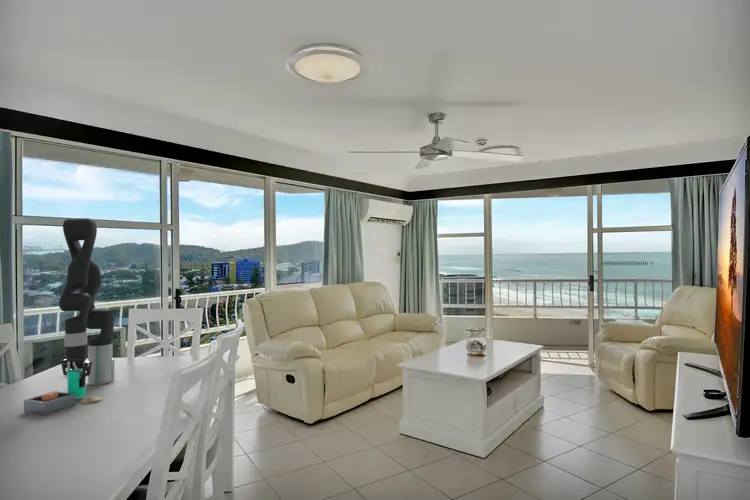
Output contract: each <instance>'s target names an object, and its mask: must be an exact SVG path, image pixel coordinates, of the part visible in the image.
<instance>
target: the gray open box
mask: <svg viewBox="0 0 750 500" xmlns="http://www.w3.org/2000/svg"><path fill="white" fill-rule="evenodd" d="M52 392H58V398H57V399H54V400H51V401H48V402H42V395H43V394H40V395H36V396H34V397H31V398H26V399H24V400H23V413H24V414H30V415H38V416H43V417H44V416H49V415H51V414H55V413H57V412H60V411H63V410H66V409H69V408H72V407H75V406H76V398H75V394H73V393H68V392H64V391H57V390H53V391H52Z"/></svg>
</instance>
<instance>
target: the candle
mask: <svg viewBox="0 0 750 500" xmlns="http://www.w3.org/2000/svg"><path fill="white" fill-rule="evenodd" d="M79 370H82V369H79ZM66 371H67V370H66ZM81 375H82V372H81ZM66 377H67V393H73V394H75V399H80V398H83V397H85V396H86V385H85V386H84V387H81V388H80V387H79V373H77V371H75V370H73V371H67V376H66Z"/></svg>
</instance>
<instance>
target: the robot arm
mask: <svg viewBox="0 0 750 500" xmlns="http://www.w3.org/2000/svg"><path fill="white" fill-rule="evenodd" d="M62 231H63V236H64V238H65V242H66V244H67V248H68V250H69V254H70V256H71V261H70V263H69V264H68V268H67V273H66V274H67V275H66V283H65V286H64V289H63V291H62V293H61V295H60V298H59V301H58V307H59V310H61V311H62V312H66V313H67V312H79V314H78V315H75V316H72V317H68V318H66V319H65V321H64V340H63V342H64V343H63V344H64V345H63V346H64V348H63V349H64V351H63V352H64V357H65V359H62V360H61V361H60V365H61V369H62V374H63V375H64V376H65V375H66V376H65V377H67V371H73V370H75V371H77V373H79V387H80V388H81V387H84V386H85V387H86V377H88V378H87V381H88V382H87V385H89V386H99V385H105V384H109V383H112V382H113V381H115V359H114V358H113V339H114V332H115V331H114V329H115V326H114V325H115V312H114V311H113V309H111V308H109V307H108V308H96V306H95V297H96V295H97V293H98V291H99V289H100V287H101V285H102V283H103V280H102V275H101V268H100V266H99V265H98V263H97V262H96V261H95V260H94V259H93V258H92V254H93V251H94V247H95V243H96V238H97V233H98V232H97V231H98V228H97V223H96V221H95V220H94V219H93V218H90V217H86V218H85V217H84V218H82V217H80V218H67V219H65V220H64V221H63V224H62ZM80 241H83V244H82V245H81V243H80ZM75 291H78V292H77V293H76V292H75ZM74 292H75V293H74ZM87 329H88V330H100V332H99V334H97V335H95V336H93V337H90V338H89V339H88V335H87V334H88V333H87ZM85 355H88V356H87V358H88V359H86V356H85ZM79 369H82V370H79ZM81 372H82V375H81Z"/></svg>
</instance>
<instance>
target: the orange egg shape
mask: <svg viewBox="0 0 750 500" xmlns="http://www.w3.org/2000/svg"><path fill="white" fill-rule="evenodd" d="M58 392H59V391H58ZM58 392H53V391H50V392H46V393H43V394H41V395H42V402H48V401H51V400H54V399H57V398H58Z"/></svg>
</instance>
